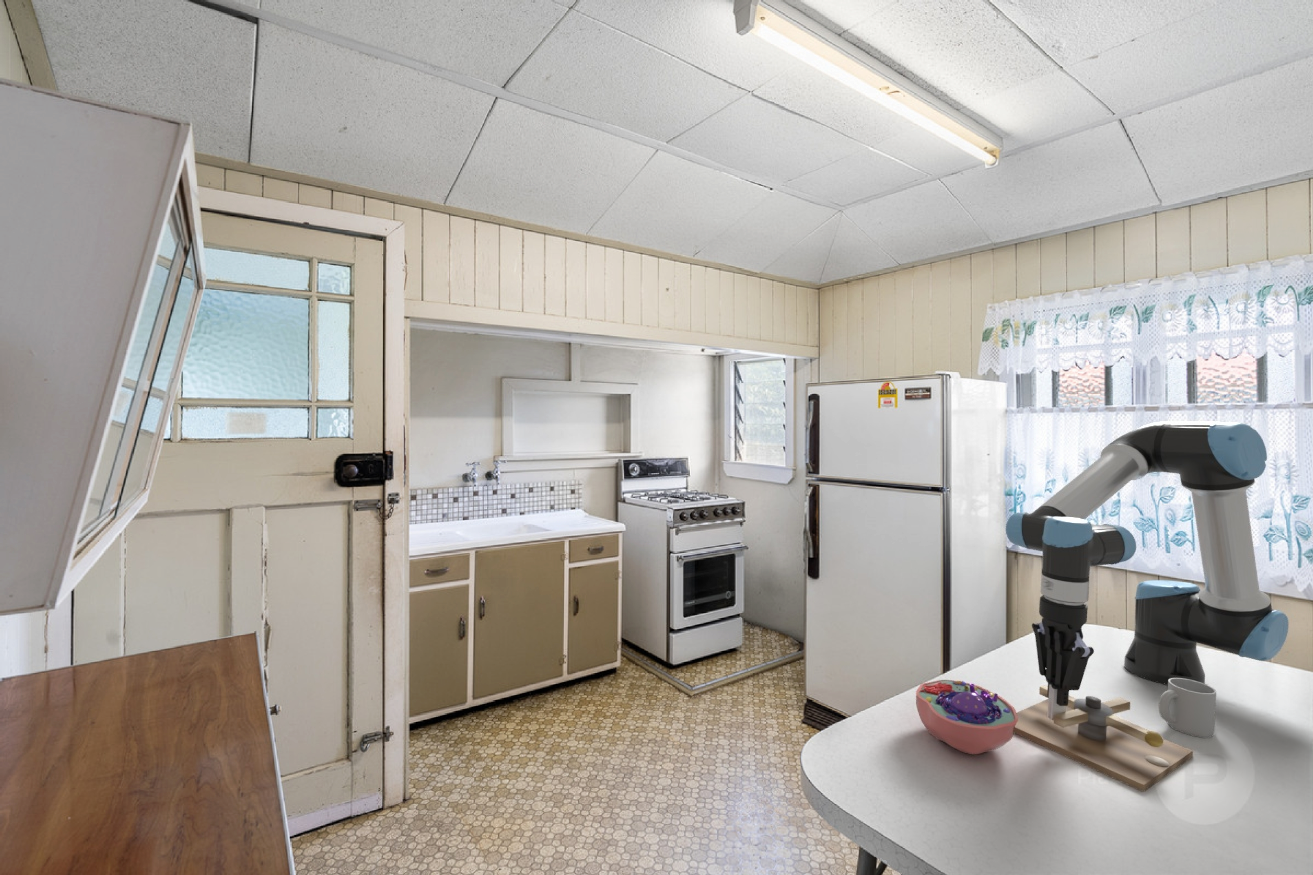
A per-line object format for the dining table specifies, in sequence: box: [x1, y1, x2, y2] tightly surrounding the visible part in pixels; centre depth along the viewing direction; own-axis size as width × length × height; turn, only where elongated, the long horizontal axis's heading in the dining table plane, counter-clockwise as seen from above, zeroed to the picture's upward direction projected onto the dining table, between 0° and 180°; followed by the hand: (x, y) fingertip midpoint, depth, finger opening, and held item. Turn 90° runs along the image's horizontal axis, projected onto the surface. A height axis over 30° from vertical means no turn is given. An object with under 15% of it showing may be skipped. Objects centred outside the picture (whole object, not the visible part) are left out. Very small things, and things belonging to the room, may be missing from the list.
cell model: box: [915, 679, 1018, 755], centre depth 112 cm, size 17×20×11 cm
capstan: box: [1038, 685, 1164, 747], centre depth 113 cm, size 22×20×4 cm
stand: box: [1013, 698, 1194, 792], centre depth 114 cm, size 21×24×4 cm
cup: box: [1158, 678, 1217, 739], centre depth 119 cm, size 7×10×9 cm
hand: (1056, 718), depth 113 cm, fingers closed
